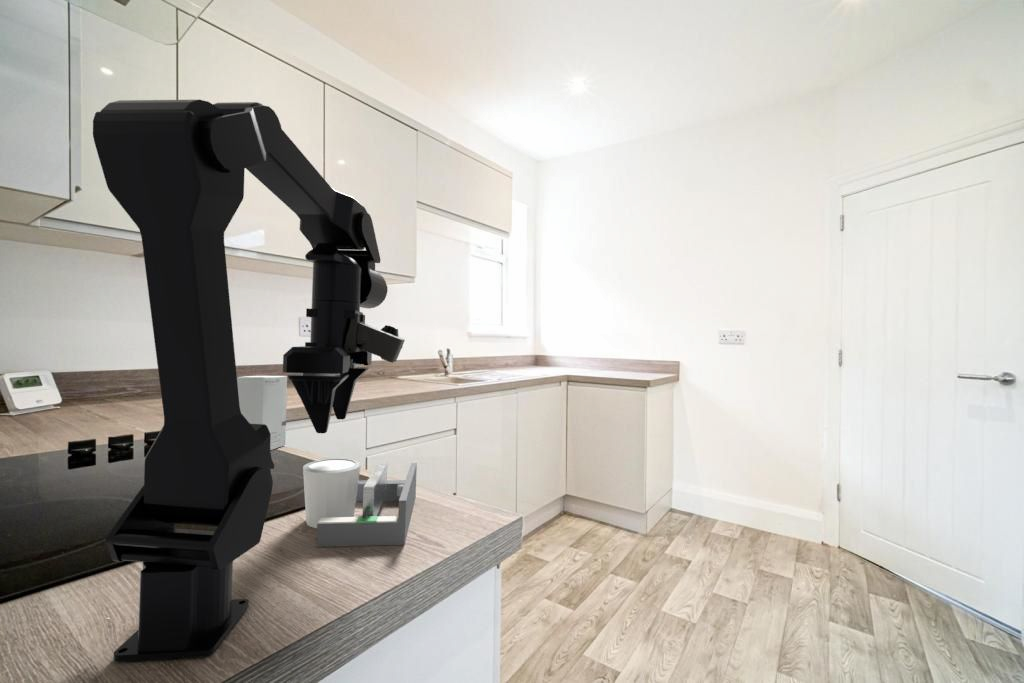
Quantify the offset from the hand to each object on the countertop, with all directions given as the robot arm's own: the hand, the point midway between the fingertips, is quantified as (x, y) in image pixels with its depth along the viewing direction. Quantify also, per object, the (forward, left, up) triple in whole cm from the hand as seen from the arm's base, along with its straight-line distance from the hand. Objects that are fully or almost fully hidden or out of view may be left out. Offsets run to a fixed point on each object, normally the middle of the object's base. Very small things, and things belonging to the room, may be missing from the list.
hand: (332, 425), depth 57 cm
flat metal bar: (-1, -6, -11) cm, 12 cm away
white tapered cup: (0, 0, -12) cm, 12 cm away
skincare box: (+37, +23, -12) cm, 45 cm away
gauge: (0, -5, -12) cm, 13 cm away
